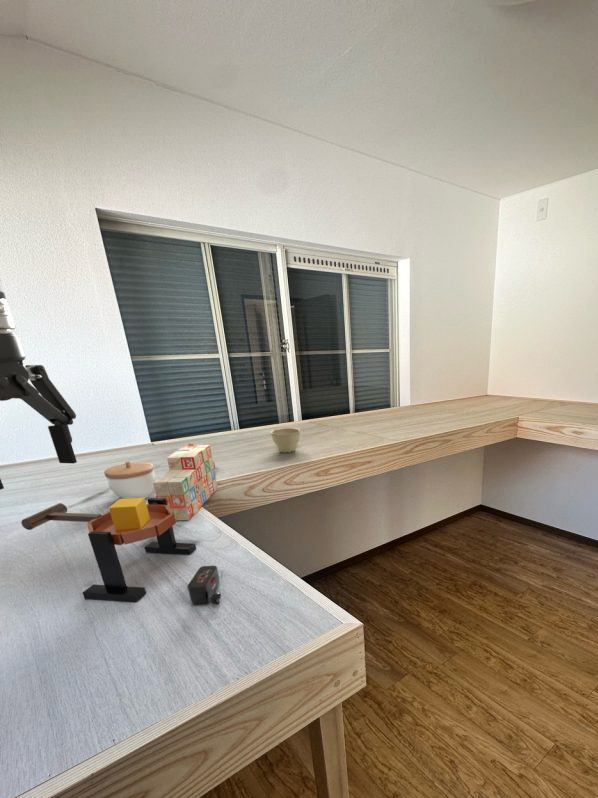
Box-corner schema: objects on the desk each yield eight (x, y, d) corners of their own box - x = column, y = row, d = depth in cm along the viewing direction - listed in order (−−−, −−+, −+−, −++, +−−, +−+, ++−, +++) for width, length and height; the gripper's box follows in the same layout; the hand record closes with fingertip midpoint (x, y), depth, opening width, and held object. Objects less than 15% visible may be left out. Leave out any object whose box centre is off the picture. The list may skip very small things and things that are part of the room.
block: (115, 530, 67) (108, 507, 66) (125, 520, 71) (119, 498, 69) (141, 528, 68) (135, 506, 66) (150, 518, 72) (144, 497, 70)
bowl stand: (84, 598, 66) (62, 536, 61) (153, 546, 82) (139, 494, 77) (136, 602, 65) (118, 539, 60) (196, 548, 81) (185, 496, 76)
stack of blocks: (189, 521, 93) (178, 468, 88) (160, 522, 92) (148, 469, 88) (218, 488, 112) (210, 443, 108) (194, 489, 112) (185, 444, 107)
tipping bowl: (7, 540, 66) (1, 526, 65) (72, 509, 77) (68, 496, 76) (143, 547, 63) (139, 532, 62) (189, 513, 75) (186, 501, 74)
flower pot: (277, 447, 153) (275, 428, 150) (304, 447, 153) (302, 428, 150) (269, 454, 144) (267, 434, 141) (298, 454, 143) (296, 434, 141)
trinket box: (108, 496, 107) (98, 461, 104) (153, 487, 114) (145, 453, 110) (117, 508, 100) (106, 471, 96) (164, 497, 107) (156, 462, 103)
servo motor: (188, 608, 63) (184, 590, 62) (204, 582, 69) (200, 566, 68) (219, 607, 63) (215, 589, 62) (232, 581, 70) (229, 565, 68)
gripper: (-97, 331, 47) (-23, 504, 56) (77, 332, 70) (110, 454, 78) (-153, 332, 48) (-72, 502, 56) (36, 332, 71) (74, 453, 79)
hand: (34, 474), depth 67 cm, fingers open, 13 cm apart
